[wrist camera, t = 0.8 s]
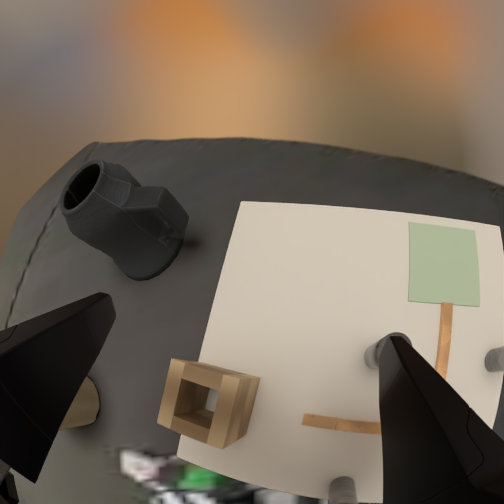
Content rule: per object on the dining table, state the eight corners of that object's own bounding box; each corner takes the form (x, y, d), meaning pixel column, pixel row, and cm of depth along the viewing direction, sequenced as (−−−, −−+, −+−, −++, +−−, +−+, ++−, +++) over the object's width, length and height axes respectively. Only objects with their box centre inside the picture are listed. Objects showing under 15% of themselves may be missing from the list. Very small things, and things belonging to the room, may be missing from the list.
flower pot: (85, 450, 21) (26, 454, 13) (53, 388, 25) (-1, 378, 18) (123, 412, 22) (55, 412, 14) (85, 344, 26) (25, 327, 19)
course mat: (467, 492, 10) (469, 494, 9) (178, 455, 19) (175, 456, 18) (497, 228, 18) (500, 225, 18) (242, 203, 28) (240, 200, 27)
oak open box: (246, 434, 18) (222, 449, 14) (190, 415, 20) (157, 423, 15) (260, 377, 20) (239, 378, 16) (203, 362, 22) (171, 358, 17)
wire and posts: (504, 360, 14) (549, 350, 8) (336, 499, 14) (334, 540, 8) (445, 276, 19) (477, 241, 13) (272, 411, 18) (247, 427, 13)
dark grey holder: (109, 276, 29) (35, 232, 19) (133, 207, 32) (75, 152, 23) (195, 289, 25) (115, 234, 15) (218, 204, 28) (164, 127, 19)
